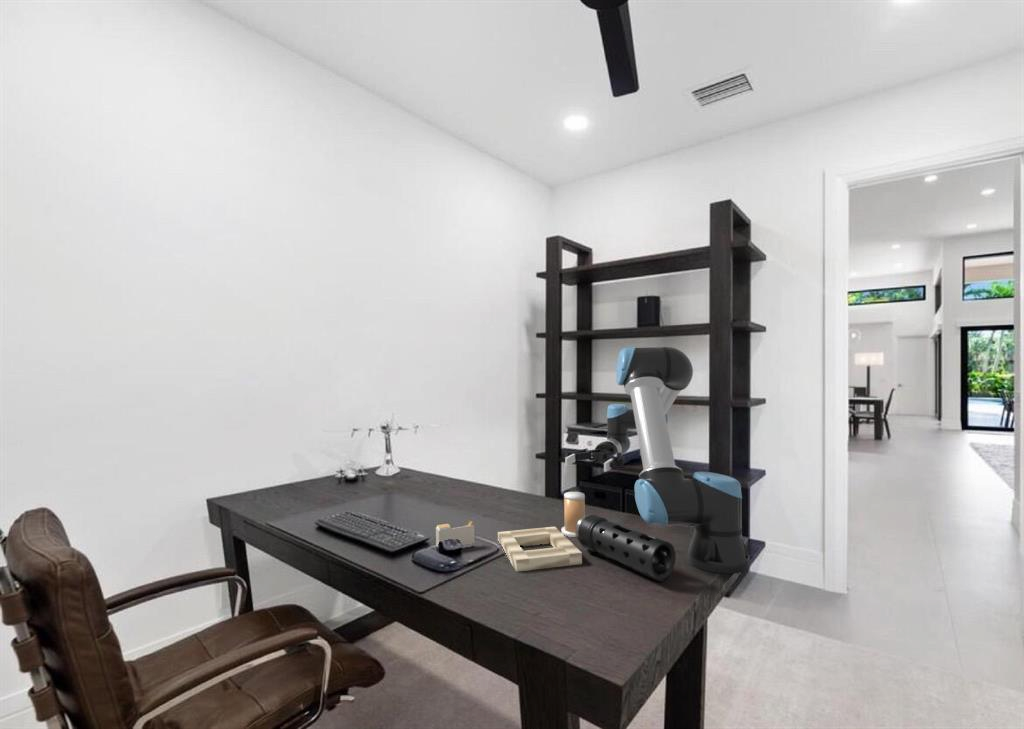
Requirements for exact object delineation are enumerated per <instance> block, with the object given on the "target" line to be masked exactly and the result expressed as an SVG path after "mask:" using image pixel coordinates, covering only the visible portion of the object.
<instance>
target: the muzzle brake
mask: <svg viewBox="0 0 1024 729" xmlns="http://www.w3.org/2000/svg"><path fill="white" fill-rule="evenodd" d="M575 535H576V538H575V539H576V540H577V542H579V543H580V545H581V547H583V548H584V549H587V550H590V552H592V553H593V552H594V553H598V556H599V557H601V556H602V557H601V558H604V559H606V560H610V559H612V560H613V561H617V562H618V563H621V564H623V565H624V567H625V568H629V569H631V570H633V571H634V572H636V573H639V574H641V575H643V576H646V577H648V578H650V579H652V580H654V581H657V582H659V583H662V582H664V581H665V580H666V579H667V578H669V576H670V575H671V574H672V572H673V570H674V569H675V568H674V567H675V566H676V565H675V564H676V558H677V557H676V550H675V547H674V546H673V545H672V543H671V542H668V541H667V540H666V541H665V540H663V539H660V538H658V537H654V536H652V535H649V534H647V533H644V532H641V531H638V530H635V529H633V528H630V527H627V526H625V525H621V524H618V523H615V522H613V521H610V520H608V519H607V518H605V517H603V516H599V515H596V514H585V516H583V517H582V518H581V519H580V520H579V521H578V523H577V525H576V529H575ZM661 565H662V566H661Z"/></svg>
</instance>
